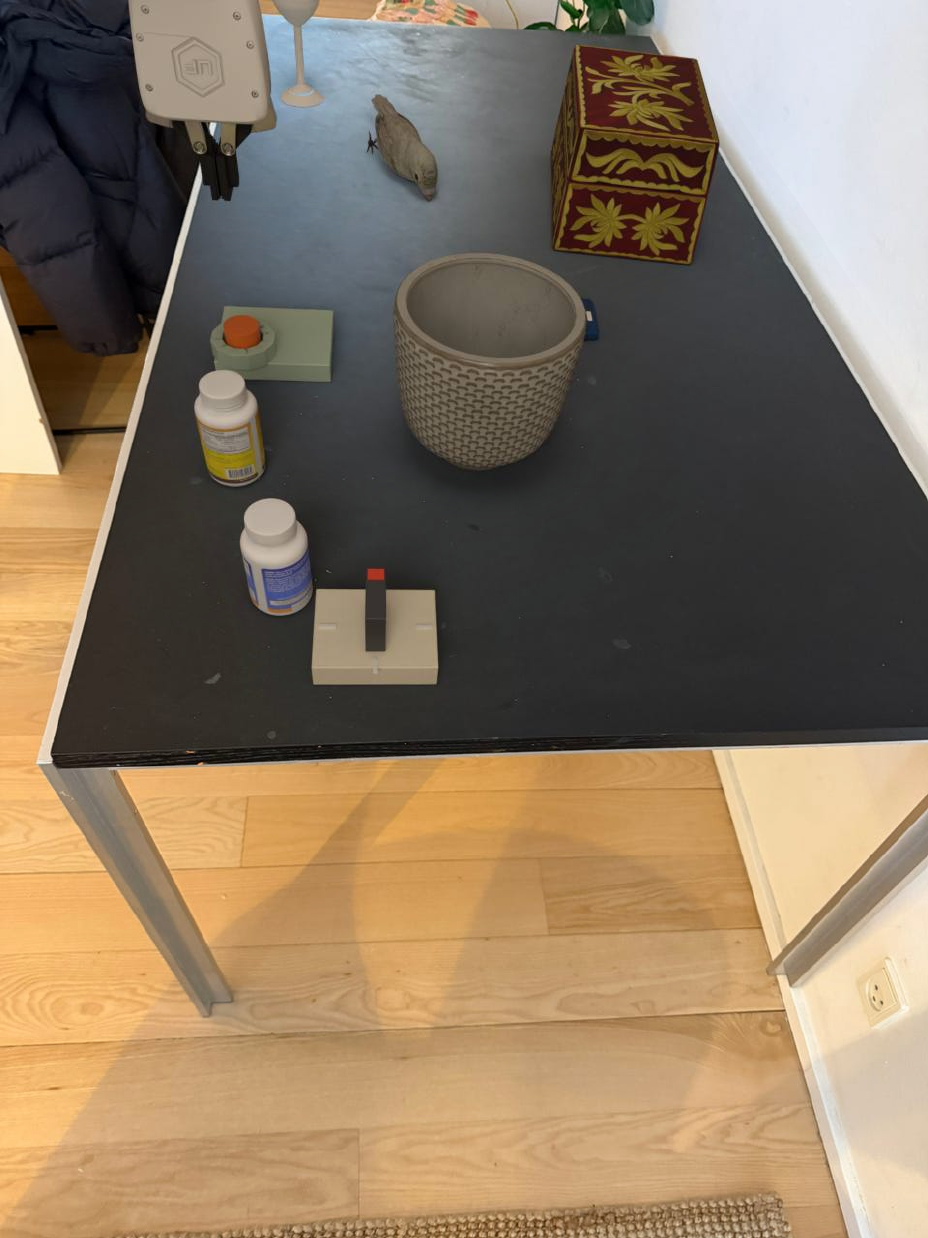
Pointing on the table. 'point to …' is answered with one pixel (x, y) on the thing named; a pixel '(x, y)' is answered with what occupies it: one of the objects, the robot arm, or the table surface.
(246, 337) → the button
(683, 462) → the table surface
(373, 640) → the program dial
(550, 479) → the table surface
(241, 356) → the block
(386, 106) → the decorative bird
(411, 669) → the dial panel
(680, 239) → the decorative box
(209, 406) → the supplement bottle
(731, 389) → the table surface
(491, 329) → the planter
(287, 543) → the pill bottle
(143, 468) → the table surface
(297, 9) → the champagne flute
